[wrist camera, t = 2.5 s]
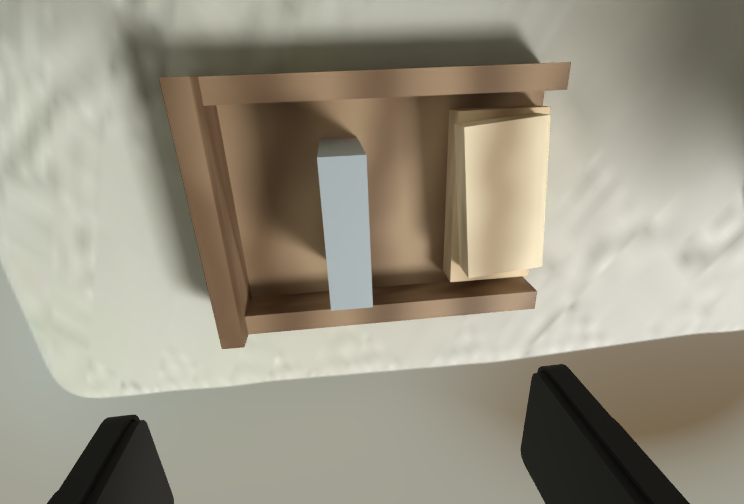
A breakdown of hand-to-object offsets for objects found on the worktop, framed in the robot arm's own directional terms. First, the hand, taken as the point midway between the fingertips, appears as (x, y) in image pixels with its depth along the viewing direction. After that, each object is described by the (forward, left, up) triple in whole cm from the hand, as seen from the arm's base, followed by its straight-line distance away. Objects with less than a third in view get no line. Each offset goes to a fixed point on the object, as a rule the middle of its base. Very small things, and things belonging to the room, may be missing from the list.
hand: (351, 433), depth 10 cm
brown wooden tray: (-3, 0, -21) cm, 21 cm away
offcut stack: (-11, 0, -20) cm, 23 cm away
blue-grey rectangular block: (-1, 0, -20) cm, 20 cm away
